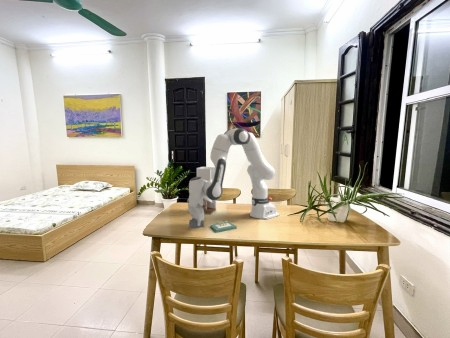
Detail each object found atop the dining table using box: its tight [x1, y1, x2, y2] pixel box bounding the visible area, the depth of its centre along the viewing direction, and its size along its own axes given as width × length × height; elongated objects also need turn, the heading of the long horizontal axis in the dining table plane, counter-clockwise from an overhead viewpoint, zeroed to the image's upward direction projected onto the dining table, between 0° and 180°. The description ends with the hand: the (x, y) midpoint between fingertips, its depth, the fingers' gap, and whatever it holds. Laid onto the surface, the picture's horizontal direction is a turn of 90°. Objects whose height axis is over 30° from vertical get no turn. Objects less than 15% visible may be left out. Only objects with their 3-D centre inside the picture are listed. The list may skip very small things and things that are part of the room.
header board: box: [209, 221, 238, 233], centre depth 146 cm, size 14×10×2 cm
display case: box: [196, 166, 217, 216], centre depth 176 cm, size 11×11×35 cm
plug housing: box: [188, 218, 205, 230], centre depth 147 cm, size 8×4×5 cm, turn 117°
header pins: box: [219, 219, 228, 226], centre depth 146 cm, size 5×1×3 cm, turn 117°
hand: (196, 223), depth 147 cm, fingers open, 8 cm apart
